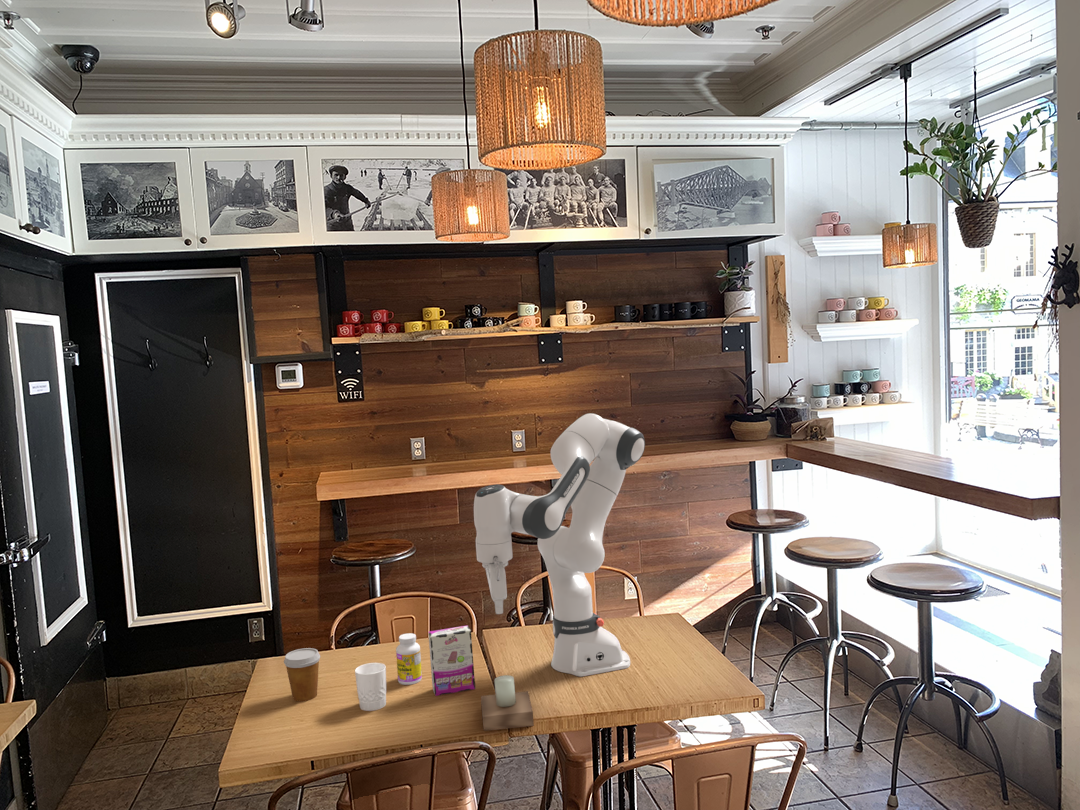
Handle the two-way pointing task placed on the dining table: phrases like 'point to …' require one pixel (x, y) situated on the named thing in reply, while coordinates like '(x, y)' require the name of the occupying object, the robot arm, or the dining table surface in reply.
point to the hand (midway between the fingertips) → (498, 607)
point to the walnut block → (507, 712)
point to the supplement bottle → (408, 660)
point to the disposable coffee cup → (303, 673)
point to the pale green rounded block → (505, 691)
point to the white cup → (371, 686)
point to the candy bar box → (451, 660)
